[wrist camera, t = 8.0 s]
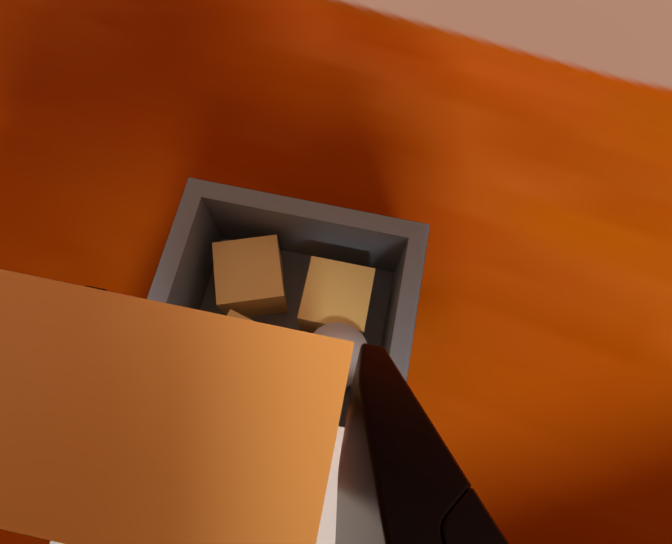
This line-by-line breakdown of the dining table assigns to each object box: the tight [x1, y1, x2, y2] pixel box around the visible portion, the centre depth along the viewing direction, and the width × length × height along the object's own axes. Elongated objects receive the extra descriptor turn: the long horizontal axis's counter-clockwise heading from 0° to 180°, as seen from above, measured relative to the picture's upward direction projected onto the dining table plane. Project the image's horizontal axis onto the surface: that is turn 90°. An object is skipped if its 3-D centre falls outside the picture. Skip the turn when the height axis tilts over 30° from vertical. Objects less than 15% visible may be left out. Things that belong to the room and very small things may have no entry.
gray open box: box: [147, 177, 430, 428], centre depth 16 cm, size 11×8×4 cm
